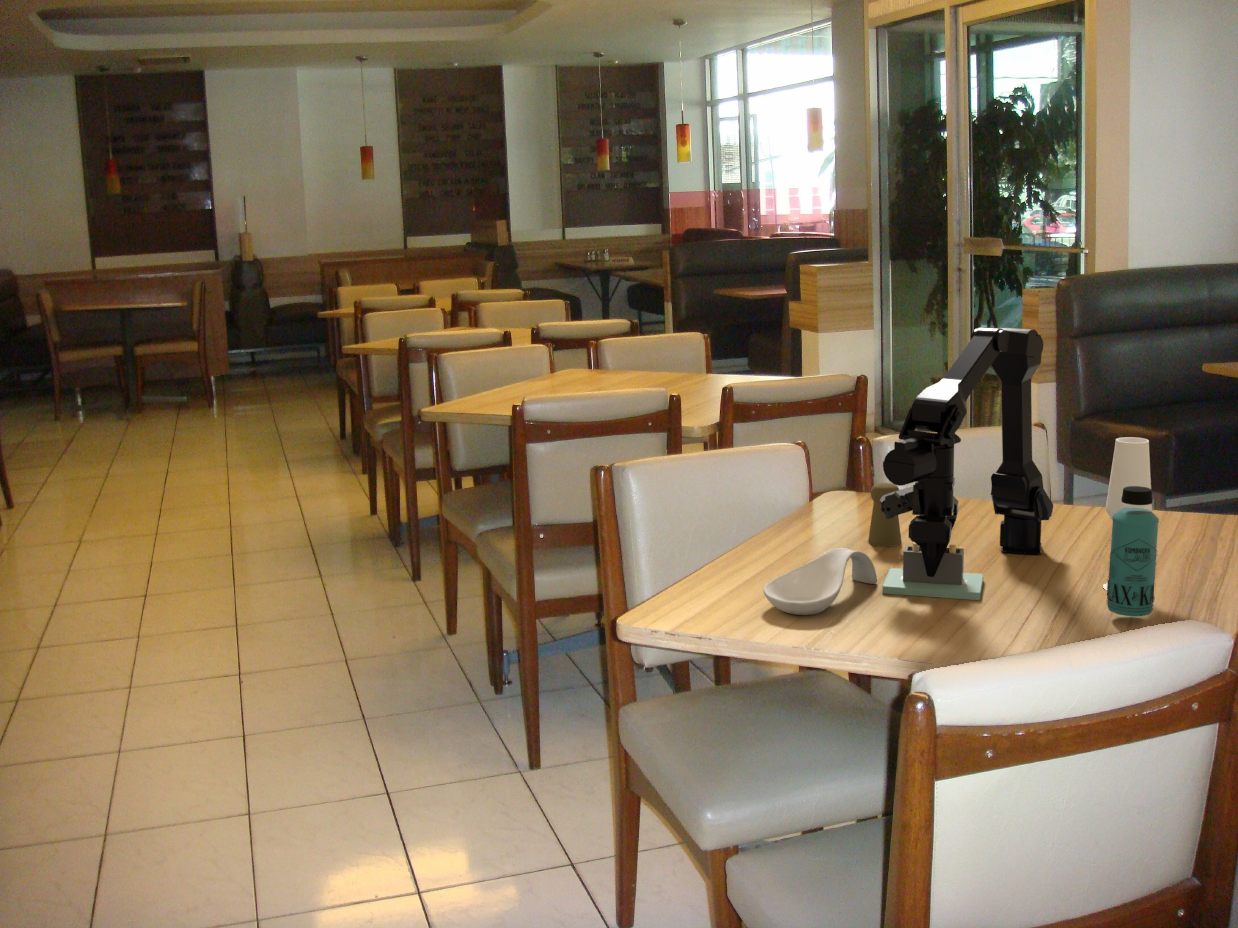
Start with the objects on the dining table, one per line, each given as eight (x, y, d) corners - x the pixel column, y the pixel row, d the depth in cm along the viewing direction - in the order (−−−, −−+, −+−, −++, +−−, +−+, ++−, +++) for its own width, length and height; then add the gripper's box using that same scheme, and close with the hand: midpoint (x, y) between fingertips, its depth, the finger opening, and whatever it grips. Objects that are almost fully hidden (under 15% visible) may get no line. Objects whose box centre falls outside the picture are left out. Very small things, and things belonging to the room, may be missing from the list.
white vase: (1127, 597, 188) (1135, 446, 182) (1092, 586, 193) (1099, 439, 188) (1157, 589, 191) (1165, 440, 185) (1121, 579, 196) (1129, 434, 191)
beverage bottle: (1097, 613, 181) (1103, 483, 177) (1140, 610, 182) (1147, 481, 177) (1118, 628, 175) (1125, 494, 171) (1163, 625, 175) (1171, 491, 171)
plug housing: (963, 578, 196) (963, 548, 195) (961, 584, 193) (962, 554, 192) (905, 574, 199) (905, 545, 198) (902, 581, 196) (903, 551, 195)
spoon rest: (811, 628, 180) (811, 582, 179) (748, 612, 188) (747, 568, 187) (895, 588, 197) (895, 546, 195) (834, 575, 205) (834, 535, 203)
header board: (983, 580, 198) (984, 538, 197) (979, 600, 189) (980, 555, 187) (890, 574, 203) (890, 533, 202) (882, 593, 194) (882, 550, 192)
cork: (902, 546, 219) (902, 487, 217) (868, 546, 220) (868, 487, 218) (901, 537, 225) (901, 480, 223) (868, 537, 226) (868, 479, 224)
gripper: (890, 460, 203) (890, 549, 207) (875, 485, 186) (875, 582, 190) (959, 462, 200) (957, 553, 203) (950, 488, 183) (948, 586, 186)
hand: (933, 567), depth 195 cm, fingers open, 9 cm apart
